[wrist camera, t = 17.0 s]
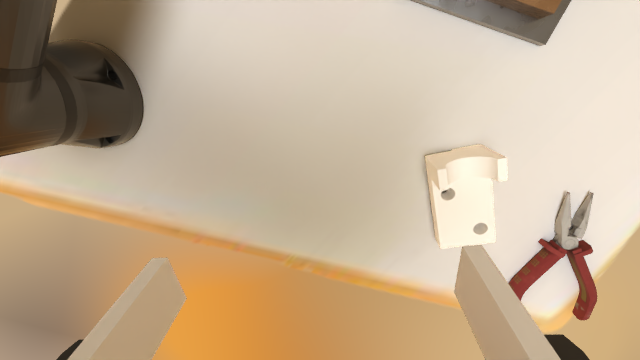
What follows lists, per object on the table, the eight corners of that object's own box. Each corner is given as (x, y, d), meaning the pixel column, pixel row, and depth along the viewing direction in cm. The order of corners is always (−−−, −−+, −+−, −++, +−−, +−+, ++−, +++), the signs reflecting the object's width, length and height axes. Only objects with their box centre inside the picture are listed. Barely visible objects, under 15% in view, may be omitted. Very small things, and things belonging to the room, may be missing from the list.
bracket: (423, 154, 38) (437, 169, 31) (478, 143, 36) (507, 157, 29) (434, 235, 42) (448, 266, 34) (484, 229, 40) (511, 260, 33)
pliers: (622, 190, 36) (641, 197, 33) (580, 311, 42) (593, 325, 40) (526, 187, 38) (537, 195, 35) (499, 304, 44) (507, 317, 42)
